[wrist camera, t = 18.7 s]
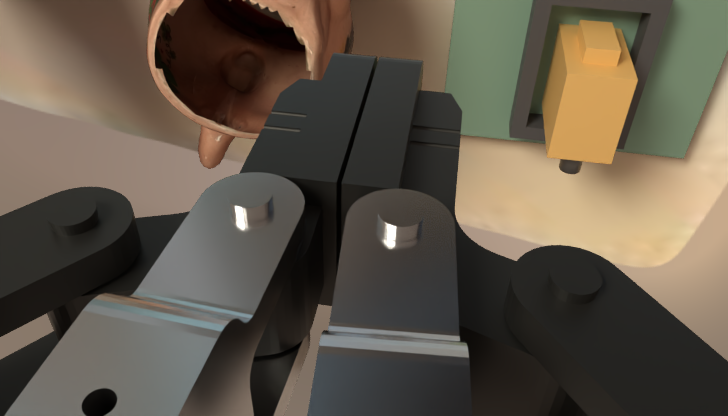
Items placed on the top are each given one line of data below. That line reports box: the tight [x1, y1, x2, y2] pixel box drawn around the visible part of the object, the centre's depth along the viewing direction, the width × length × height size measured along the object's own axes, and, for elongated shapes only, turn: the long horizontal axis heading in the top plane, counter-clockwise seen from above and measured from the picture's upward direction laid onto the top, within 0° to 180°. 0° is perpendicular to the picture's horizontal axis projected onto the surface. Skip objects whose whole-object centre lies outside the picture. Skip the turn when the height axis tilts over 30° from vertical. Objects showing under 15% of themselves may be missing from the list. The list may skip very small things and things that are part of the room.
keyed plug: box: [542, 20, 638, 174], centre depth 44 cm, size 4×9×7 cm, turn 179°
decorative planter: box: [146, 0, 354, 169], centre depth 42 cm, size 20×12×14 cm, turn 164°
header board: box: [445, 0, 728, 158], centre depth 45 cm, size 18×14×4 cm
